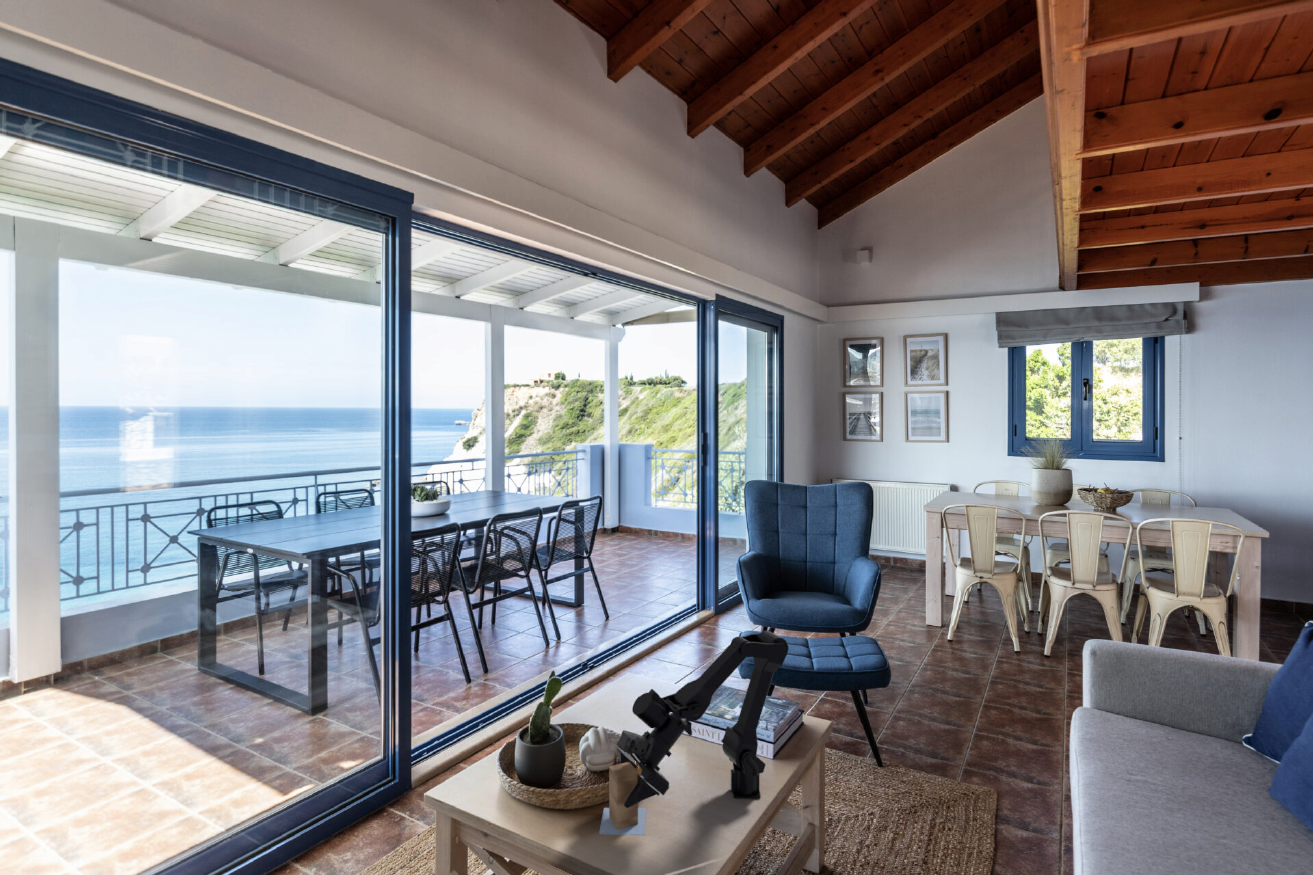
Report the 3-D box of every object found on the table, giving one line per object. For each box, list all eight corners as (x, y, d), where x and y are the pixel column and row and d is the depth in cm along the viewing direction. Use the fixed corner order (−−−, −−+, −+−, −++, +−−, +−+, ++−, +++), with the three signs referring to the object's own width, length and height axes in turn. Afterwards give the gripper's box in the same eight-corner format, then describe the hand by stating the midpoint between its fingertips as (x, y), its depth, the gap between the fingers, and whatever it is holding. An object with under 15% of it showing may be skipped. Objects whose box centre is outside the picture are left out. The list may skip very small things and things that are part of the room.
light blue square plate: (646, 810, 162) (646, 808, 162) (644, 836, 152) (644, 834, 152) (604, 809, 163) (604, 807, 163) (599, 836, 153) (599, 833, 153)
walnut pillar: (629, 812, 161) (629, 761, 160) (637, 824, 156) (637, 772, 156) (609, 817, 159) (609, 766, 158) (617, 829, 154) (617, 776, 154)
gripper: (624, 702, 167) (580, 757, 163) (656, 736, 150) (608, 798, 146) (654, 728, 170) (612, 782, 166) (688, 764, 153) (642, 825, 149)
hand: (617, 795), depth 157 cm, fingers open, 9 cm apart
